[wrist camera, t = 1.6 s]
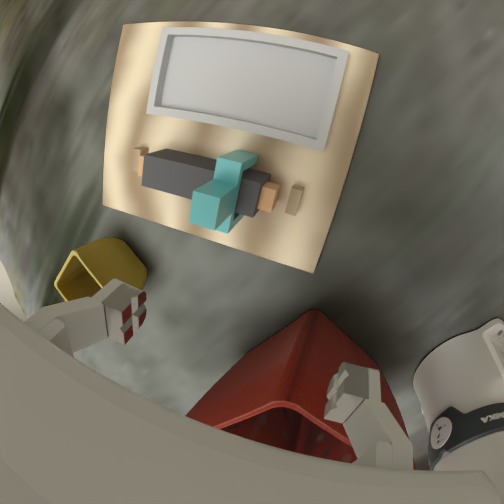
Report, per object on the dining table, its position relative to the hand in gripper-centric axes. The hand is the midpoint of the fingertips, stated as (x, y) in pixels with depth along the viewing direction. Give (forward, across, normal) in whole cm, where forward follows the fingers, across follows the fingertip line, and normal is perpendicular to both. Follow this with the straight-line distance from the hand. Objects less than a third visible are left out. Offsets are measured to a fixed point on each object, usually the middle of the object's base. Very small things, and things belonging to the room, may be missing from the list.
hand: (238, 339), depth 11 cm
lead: (+19, +8, 0) cm, 21 cm away
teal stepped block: (+18, +6, 0) cm, 19 cm away
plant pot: (+20, -8, +20) cm, 29 cm away
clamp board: (+20, +10, -4) cm, 23 cm away
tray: (+19, +8, -10) cm, 22 cm away
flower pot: (+20, +19, +15) cm, 32 cm away
